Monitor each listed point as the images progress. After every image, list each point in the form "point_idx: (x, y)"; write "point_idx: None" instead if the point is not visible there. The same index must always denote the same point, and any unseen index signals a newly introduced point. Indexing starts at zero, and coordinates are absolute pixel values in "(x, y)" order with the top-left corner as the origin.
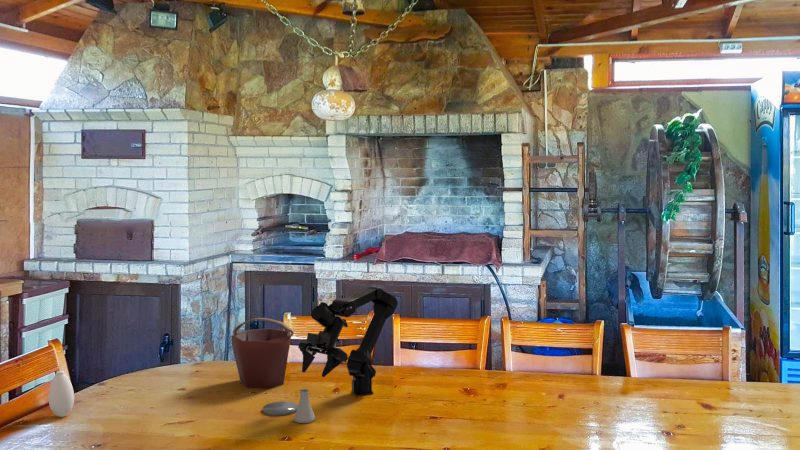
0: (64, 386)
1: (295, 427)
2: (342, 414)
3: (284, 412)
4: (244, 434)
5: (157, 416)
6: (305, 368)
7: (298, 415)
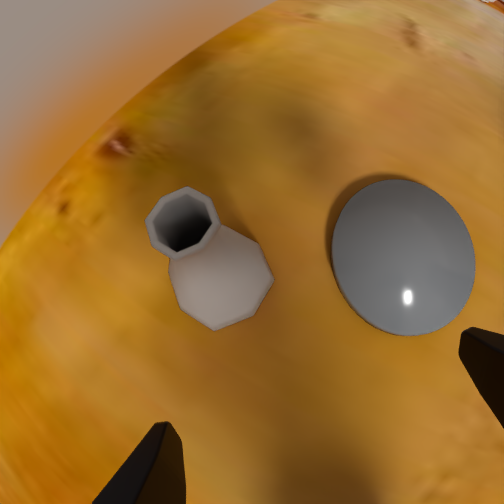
0: None
1: None
2: None
3: (334, 230)
4: (235, 73)
5: (459, 34)
6: (485, 372)
7: (205, 230)
